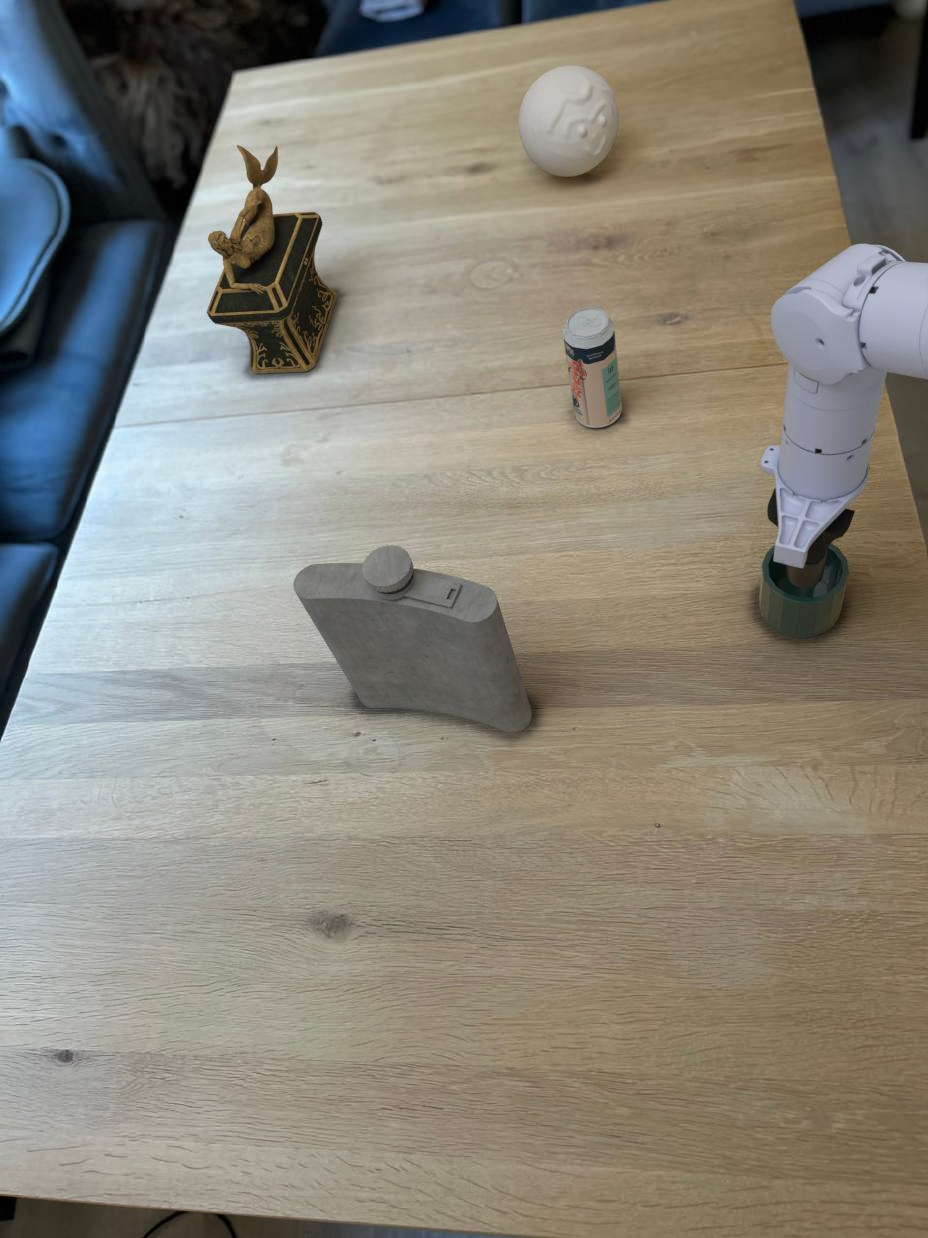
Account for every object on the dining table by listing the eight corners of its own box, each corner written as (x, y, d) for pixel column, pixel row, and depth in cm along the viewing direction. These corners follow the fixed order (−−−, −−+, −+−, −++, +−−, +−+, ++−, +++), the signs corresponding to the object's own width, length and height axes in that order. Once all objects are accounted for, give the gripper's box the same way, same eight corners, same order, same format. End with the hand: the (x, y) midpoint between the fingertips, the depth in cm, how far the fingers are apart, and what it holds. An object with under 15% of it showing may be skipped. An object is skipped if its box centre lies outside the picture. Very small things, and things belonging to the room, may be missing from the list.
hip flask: (354, 705, 88) (274, 576, 72) (369, 666, 90) (295, 531, 73) (526, 736, 83) (483, 605, 67) (538, 693, 85) (499, 556, 68)
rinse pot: (850, 585, 85) (858, 547, 80) (827, 648, 82) (835, 612, 77) (772, 565, 87) (776, 527, 83) (748, 625, 84) (751, 589, 80)
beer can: (577, 397, 103) (563, 305, 93) (623, 395, 102) (615, 302, 92) (573, 432, 100) (559, 341, 90) (621, 430, 99) (612, 338, 89)
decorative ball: (559, 210, 120) (547, 116, 110) (508, 168, 127) (492, 76, 117) (641, 165, 122) (636, 69, 112) (586, 126, 128) (576, 32, 118)
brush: (827, 564, 78) (837, 509, 73) (817, 592, 77) (826, 538, 71) (791, 555, 79) (798, 500, 74) (781, 582, 78) (787, 529, 72)
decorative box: (318, 382, 112) (253, 233, 96) (240, 385, 114) (164, 240, 98) (355, 265, 122) (302, 112, 106) (283, 270, 125) (220, 121, 108)
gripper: (799, 335, 69) (785, 465, 80) (731, 491, 63) (726, 608, 74) (906, 352, 66) (876, 484, 77) (846, 517, 60) (823, 634, 71)
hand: (809, 546), depth 75 cm, fingers closed on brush
